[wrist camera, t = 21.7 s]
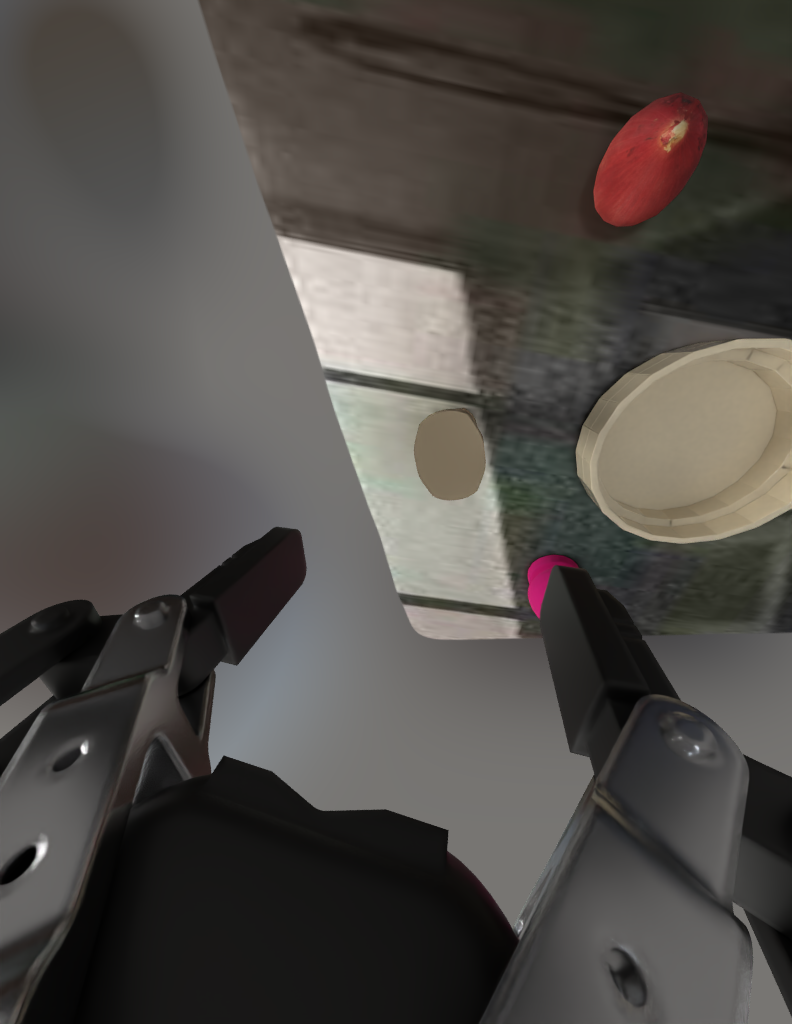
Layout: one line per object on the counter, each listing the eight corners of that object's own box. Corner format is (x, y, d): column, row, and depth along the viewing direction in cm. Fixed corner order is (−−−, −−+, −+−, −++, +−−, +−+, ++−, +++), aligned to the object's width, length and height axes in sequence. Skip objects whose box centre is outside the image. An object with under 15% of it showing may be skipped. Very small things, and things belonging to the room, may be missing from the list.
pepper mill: (588, 590, 39) (677, 770, 22) (530, 599, 42) (568, 765, 25) (577, 545, 37) (666, 706, 20) (517, 557, 40) (548, 708, 22)
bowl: (601, 344, 28) (627, 340, 23) (836, 341, 24) (924, 336, 20) (557, 508, 36) (569, 531, 31) (730, 525, 32) (775, 554, 27)
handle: (478, 387, 32) (479, 404, 19) (484, 446, 35) (489, 496, 21) (434, 397, 34) (406, 418, 20) (443, 453, 36) (424, 503, 23)
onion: (616, 127, 22) (678, 20, 15) (687, 158, 22) (783, 64, 15) (565, 225, 25) (599, 172, 18) (628, 253, 25) (686, 211, 18)
